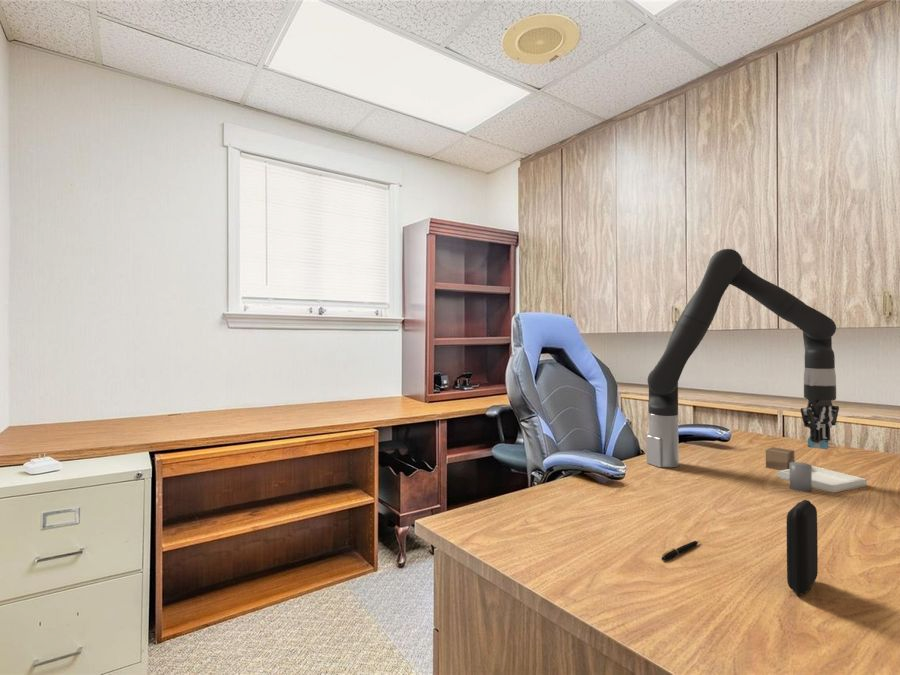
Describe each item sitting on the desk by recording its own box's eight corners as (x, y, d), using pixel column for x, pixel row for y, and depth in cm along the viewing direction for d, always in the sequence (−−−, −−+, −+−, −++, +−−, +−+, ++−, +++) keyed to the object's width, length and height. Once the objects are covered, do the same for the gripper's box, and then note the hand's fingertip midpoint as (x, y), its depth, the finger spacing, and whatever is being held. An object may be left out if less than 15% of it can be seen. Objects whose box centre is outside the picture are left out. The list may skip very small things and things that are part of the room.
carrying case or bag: (800, 572, 86) (800, 493, 86) (821, 579, 84) (820, 498, 84) (784, 594, 79) (783, 508, 79) (806, 602, 77) (805, 513, 77)
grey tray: (832, 492, 128) (832, 485, 128) (777, 477, 142) (777, 470, 142) (866, 486, 133) (866, 479, 133) (810, 471, 147) (810, 465, 147)
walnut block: (787, 472, 147) (787, 453, 147) (765, 467, 152) (765, 449, 152) (794, 468, 151) (794, 450, 151) (773, 464, 156) (773, 446, 156)
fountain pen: (697, 542, 100) (697, 535, 100) (702, 544, 99) (702, 537, 99) (658, 561, 92) (658, 553, 92) (664, 563, 91) (664, 556, 91)
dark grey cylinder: (803, 492, 128) (803, 467, 128) (785, 487, 133) (785, 463, 133) (815, 490, 130) (815, 465, 130) (797, 485, 135) (797, 461, 135)
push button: (836, 448, 137) (835, 414, 137) (834, 451, 133) (834, 416, 133) (807, 444, 142) (807, 412, 142) (805, 448, 138) (805, 414, 138)
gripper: (821, 381, 143) (822, 436, 143) (790, 383, 138) (790, 440, 138) (849, 383, 136) (850, 441, 136) (817, 385, 131) (818, 446, 131)
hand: (820, 440), depth 137 cm, fingers closed on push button, 4 cm apart
